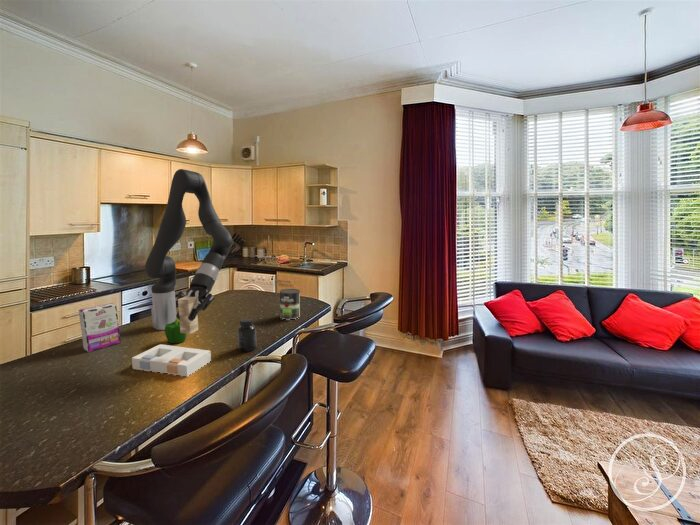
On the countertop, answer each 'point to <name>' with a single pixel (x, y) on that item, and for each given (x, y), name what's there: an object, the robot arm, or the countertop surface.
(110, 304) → the candy bar box
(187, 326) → the beech plug
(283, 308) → the coffee can
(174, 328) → the bell pepper
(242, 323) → the supplement bottle
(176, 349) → the socket hub
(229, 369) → the countertop surface
